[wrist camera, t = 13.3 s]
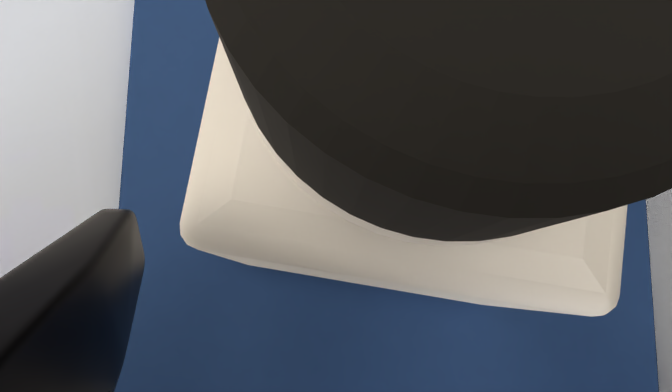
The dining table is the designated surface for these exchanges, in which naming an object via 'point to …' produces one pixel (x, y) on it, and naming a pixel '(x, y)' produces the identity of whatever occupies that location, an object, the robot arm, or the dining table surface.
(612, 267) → the medicine bottle
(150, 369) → the cloth
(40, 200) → the dining table surface
